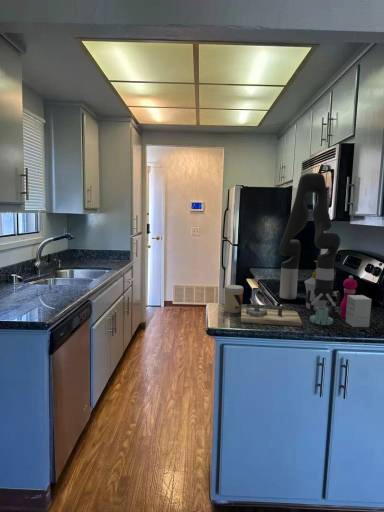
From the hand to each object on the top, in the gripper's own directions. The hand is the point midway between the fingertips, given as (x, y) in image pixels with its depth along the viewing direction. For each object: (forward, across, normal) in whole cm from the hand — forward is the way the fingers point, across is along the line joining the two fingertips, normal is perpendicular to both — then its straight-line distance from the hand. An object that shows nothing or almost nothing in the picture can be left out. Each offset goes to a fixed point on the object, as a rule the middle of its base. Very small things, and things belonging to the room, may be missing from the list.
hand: (321, 313), depth 157 cm
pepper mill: (+4, -14, -10) cm, 18 cm away
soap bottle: (+4, -1, -20) cm, 21 cm away
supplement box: (+4, -15, +1) cm, 16 cm away
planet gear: (+4, 0, 0) cm, 4 cm away
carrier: (+4, +23, +1) cm, 23 cm away
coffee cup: (+4, +40, -8) cm, 41 cm away
